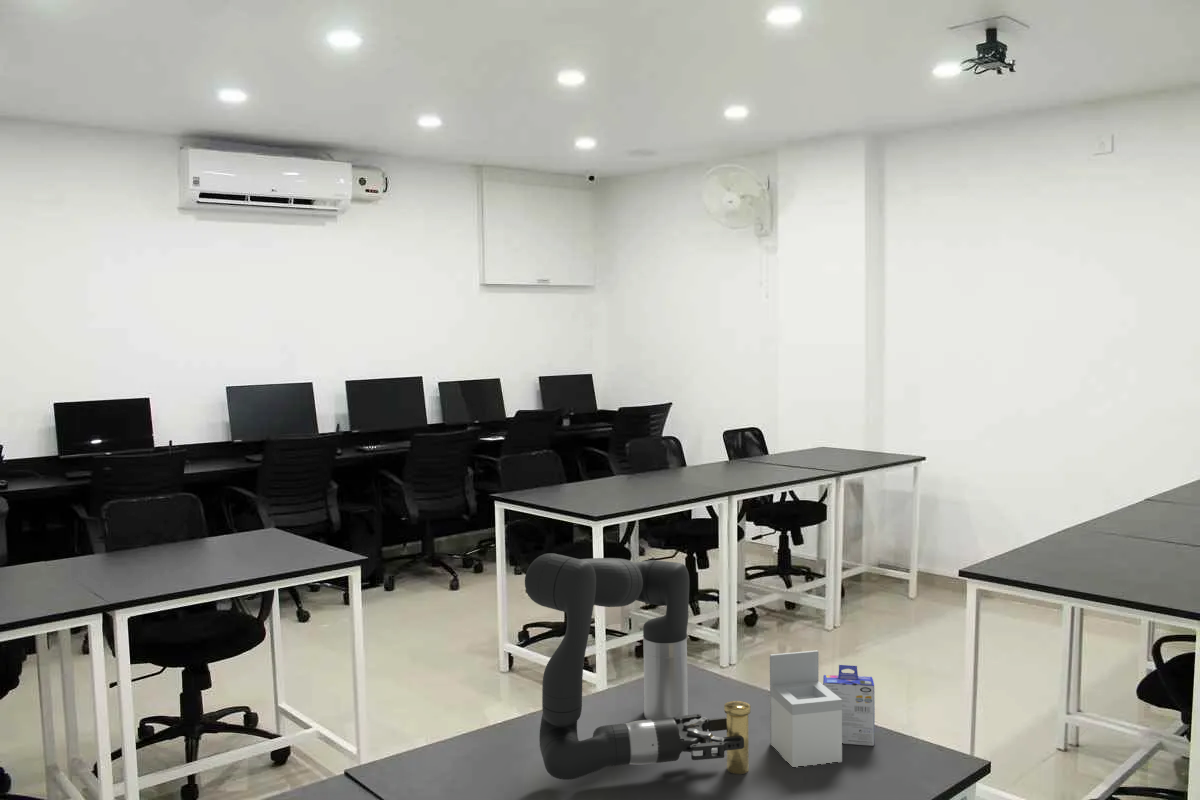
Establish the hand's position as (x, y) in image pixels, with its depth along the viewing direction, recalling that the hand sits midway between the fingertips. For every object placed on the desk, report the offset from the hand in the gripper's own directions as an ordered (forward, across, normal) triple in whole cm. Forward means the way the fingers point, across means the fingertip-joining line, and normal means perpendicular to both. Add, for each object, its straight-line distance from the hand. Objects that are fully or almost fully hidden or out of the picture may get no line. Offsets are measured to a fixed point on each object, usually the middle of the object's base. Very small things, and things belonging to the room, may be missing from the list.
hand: (735, 732), depth 172 cm
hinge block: (+15, +3, +7) cm, 17 cm away
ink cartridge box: (+26, +7, +7) cm, 28 cm away
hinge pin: (0, 0, +7) cm, 7 cm away
